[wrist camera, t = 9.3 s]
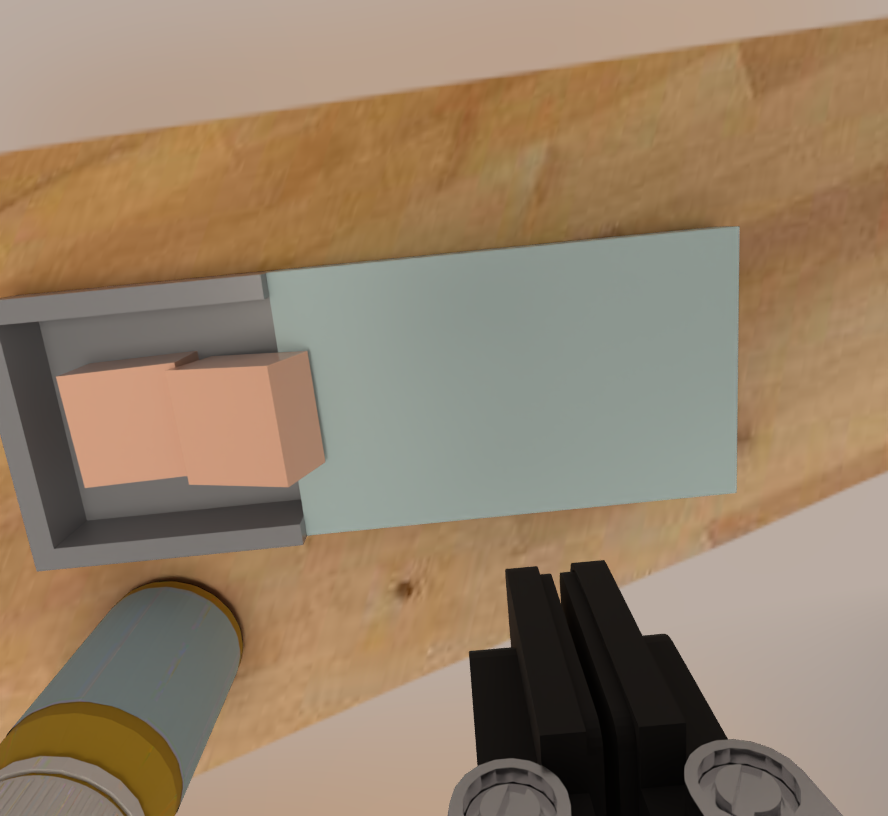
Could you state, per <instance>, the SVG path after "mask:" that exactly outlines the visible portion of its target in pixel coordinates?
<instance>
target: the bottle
mask: <svg viewBox="0 0 888 816" xmlns="http://www.w3.org/2000/svg"><path fill="white" fill-rule="evenodd" d="M242 651H243V642H242V637H241V631H240V628H239V625H238V623H237V622H236V620H235V618H234V616H233V614H232V613H231V611H230V610H229V609H228V608H227V607H226V606H225V605H224V604H223V603H222V602H221V601H220V600H219V599H218V598H217V597H215V596H214V595H213V594H211V593H209V592H207V591H205V590H203V589H201V588H199V587H197V586H194V585H190V584H185V583H180V582H174V581H167V582H155V583H150V584H147V585H144V586H142V587H139V588H137V589H134V590H132V591H131V592H129V593H128V594H127V595H126V596H124V597H123V598H122V599H121V600H120V601H119V602H118V603H117V604H116V605H115V606H114V607H113V608H112V609H111V610H110V611H109V612H108V614H107V615H106V616H105V617H104V618H103V620H102V621H101V622H100V623H99V624H98V626H97V627H96V628H95V629H94V630H93V632H92V633H91V634H90V635H89V636H88V638H87V639H86V640H85V641H84V642H83V644H82V645H81V646H80V647H79V648H78V650H77V651H76V652H75V653H74V654H73V656H72V657H71V658H70V659H69V660H68V662H67V663H66V664H65V665H64V667H63V668H62V669H61V670H60V671H59V673H58V674H57V675H56V676H55V677H54V679H53V680H52V681H51V682H50V683H49V685H48V686H47V687H46V688H45V689H44V691H43V692H42V693H41V694H40V695H39V697H38V698H37V699H36V700H35V701H34V703H33V704H32V705H31V706H30V707H29V709H28V710H27V711H26V712H25V713H24V715H23V716H22V717H21V718H20V719H19V721H18V722H17V723H16V724H15V725H14V727H13V728H12V729H11V730H10V731H9V733H8V734H7V736H6V738H5V739H4V740H3V741H2V742H1V744H0V816H175V814H176V812H177V811H178V809H179V806H180V804H181V802H182V799H183V797H184V795H185V792H186V790H187V788H188V785H189V783H190V781H191V779H192V776H193V774H194V771H195V769H196V767H197V764H198V762H199V760H200V757H201V755H202V753H203V750H204V748H205V746H206V743H207V741H208V739H209V736H210V734H211V732H212V729H213V727H214V725H215V722H216V720H217V718H218V715H219V713H220V711H221V708H222V706H223V704H224V701H225V699H226V697H227V694H228V692H229V690H230V687H231V685H232V683H233V680H234V678H235V676H236V673H237V670H238V667H239V665H240V661H241V656H242Z"/></svg>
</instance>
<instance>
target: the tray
mask: <svg viewBox="0 0 888 816" xmlns="http://www.w3.org/2000/svg"><path fill="white" fill-rule="evenodd" d="M271 271H275V270H271ZM271 271H261V272H251V273H240V274H230V275H220V276H210V277H200V278H190V279H179V280H169V281H159V282H149V283H139V284H129V285H119V286H108V287H98V288H88V289H78V290H68V291H58V292H47V293H37V294H27V295H17V296H10V297H3V298H0V435H1V439H2V443H3V447H4V450H5V454H6V458H7V462H8V465H9V469H10V473H11V476H12V480H13V484H14V488H15V491H16V495H17V499H18V503H19V506H20V510H21V514H22V518H23V521H24V525H25V529H26V533H27V536H28V540H29V544H30V548H31V551H32V555H33V559H34V563H35V566H36V570H37V571H46V570H56V569H66V568H76V567H86V566H97V565H107V564H117V563H127V562H137V561H147V560H157V559H167V558H177V557H187V556H197V555H207V554H217V553H227V552H237V551H248V550H258V549H268V548H278V547H288V546H298V545H303V544H304V542H305V539H306V537H307V533H306V526H305V520H304V514H303V507H302V501H301V495H300V488H299V482H298V481H297V482H296V483H294V484H293V485H291V486H290V487H259V486H222V485H189V482H188V477H187V476H183V477H174V478H166V479H157V480H149V481H140V482H132V483H123V484H115V485H107V486H98V487H90V488H85V486H84V483H83V479H82V475H81V471H80V467H79V463H78V460H77V456H76V452H75V448H74V444H73V440H72V437H71V433H70V429H69V425H68V421H67V418H66V414H65V410H64V406H63V402H62V398H61V395H60V391H59V387H58V383H57V379H56V376H59V375H61V374H64V373H66V372H69V371H72V370H74V369H77V368H79V367H82V366H84V365H87V364H89V363H98V362H106V361H114V360H123V359H131V358H140V357H148V356H157V355H165V354H173V353H182V352H190V351H197V352H198V357H199V360H201V359H204V358H207V357H211V356H224V355H242V354H260V353H278V348H277V342H276V335H275V329H274V323H273V316H272V310H271V304H270V297H269V291H268V284H267V278H266V273H268V272H271Z"/></svg>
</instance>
